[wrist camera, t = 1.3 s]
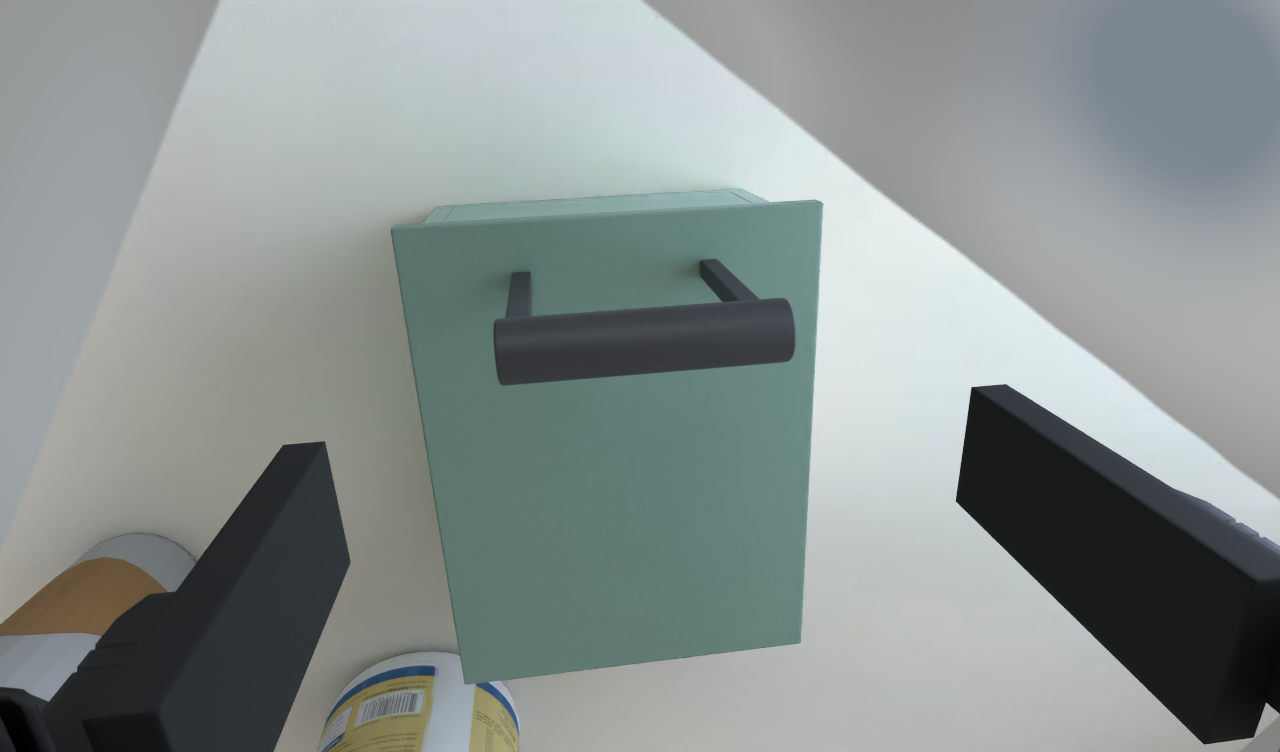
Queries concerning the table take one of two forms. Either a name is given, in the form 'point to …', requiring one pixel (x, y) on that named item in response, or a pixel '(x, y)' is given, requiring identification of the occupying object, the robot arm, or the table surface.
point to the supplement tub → (421, 710)
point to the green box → (592, 205)
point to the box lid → (617, 428)
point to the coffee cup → (84, 609)
